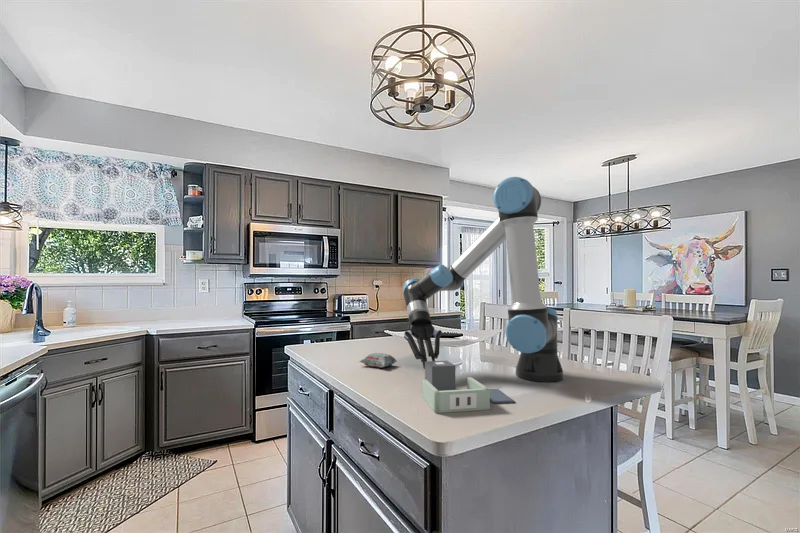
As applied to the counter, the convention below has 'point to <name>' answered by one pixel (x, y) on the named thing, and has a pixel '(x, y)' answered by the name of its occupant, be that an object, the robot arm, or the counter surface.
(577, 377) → the counter surface
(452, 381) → the block
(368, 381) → the counter surface
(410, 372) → the counter surface
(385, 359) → the packaged food
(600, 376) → the counter surface
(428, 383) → the outlet bay
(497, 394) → the phone
